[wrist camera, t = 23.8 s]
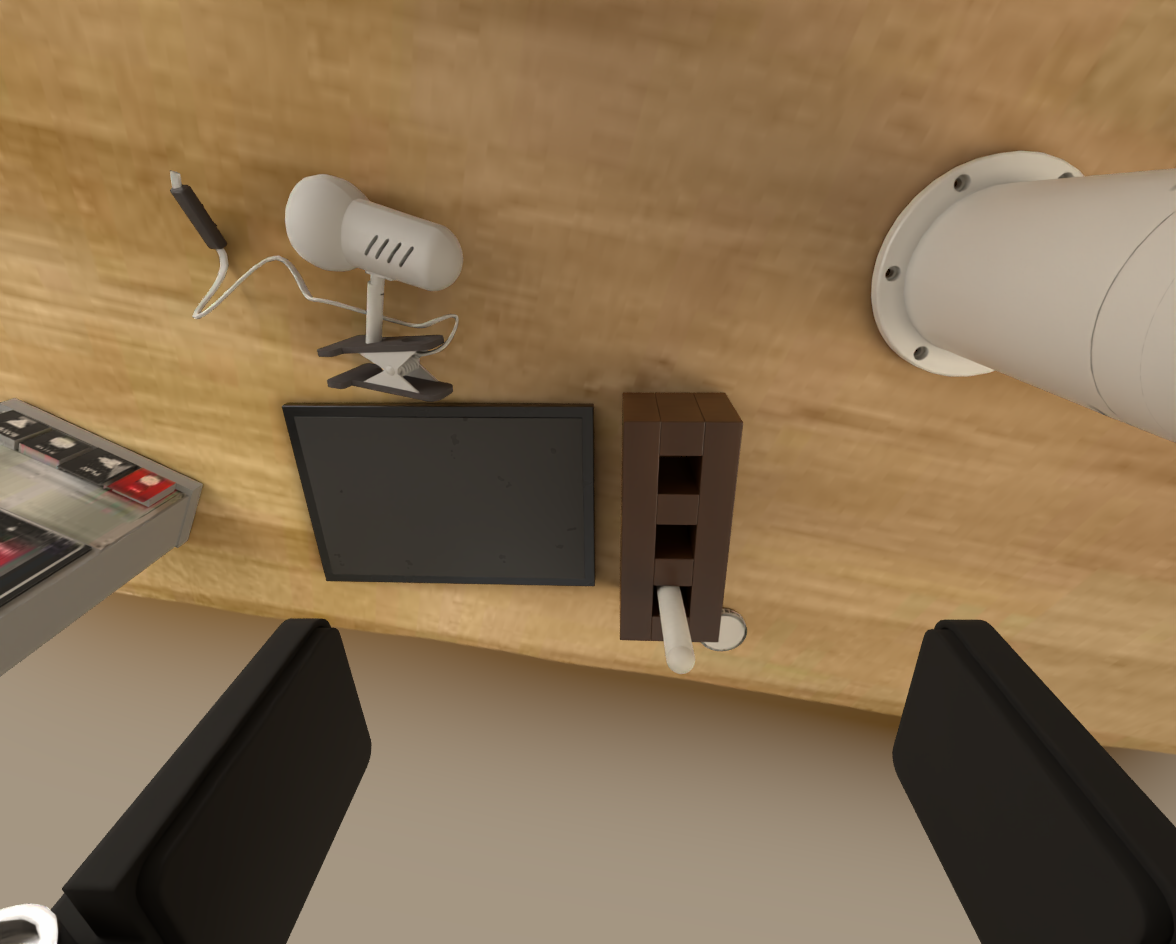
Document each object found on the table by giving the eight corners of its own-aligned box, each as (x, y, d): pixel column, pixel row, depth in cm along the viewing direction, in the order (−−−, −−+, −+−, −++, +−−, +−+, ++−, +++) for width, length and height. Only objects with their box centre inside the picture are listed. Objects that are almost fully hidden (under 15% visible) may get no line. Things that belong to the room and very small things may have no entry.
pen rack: (725, 392, 38) (743, 422, 32) (706, 590, 45) (718, 642, 39) (622, 392, 38) (623, 421, 33) (619, 589, 45) (620, 640, 39)
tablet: (593, 403, 38) (593, 407, 38) (595, 580, 45) (594, 587, 44) (287, 402, 39) (280, 406, 39) (330, 575, 46) (325, 582, 45)
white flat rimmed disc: (742, 647, 47) (744, 652, 46) (695, 645, 47) (696, 651, 46) (748, 609, 45) (749, 614, 44) (698, 608, 45) (699, 613, 45)
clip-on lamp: (242, 318, 40) (464, 399, 38) (158, 339, 35) (412, 434, 32) (226, 134, 34) (488, 216, 32) (123, 124, 29) (430, 221, 26)
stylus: (673, 549, 43) (697, 655, 30) (672, 567, 44) (696, 680, 30) (652, 548, 43) (667, 654, 30) (652, 567, 44) (666, 679, 30)
